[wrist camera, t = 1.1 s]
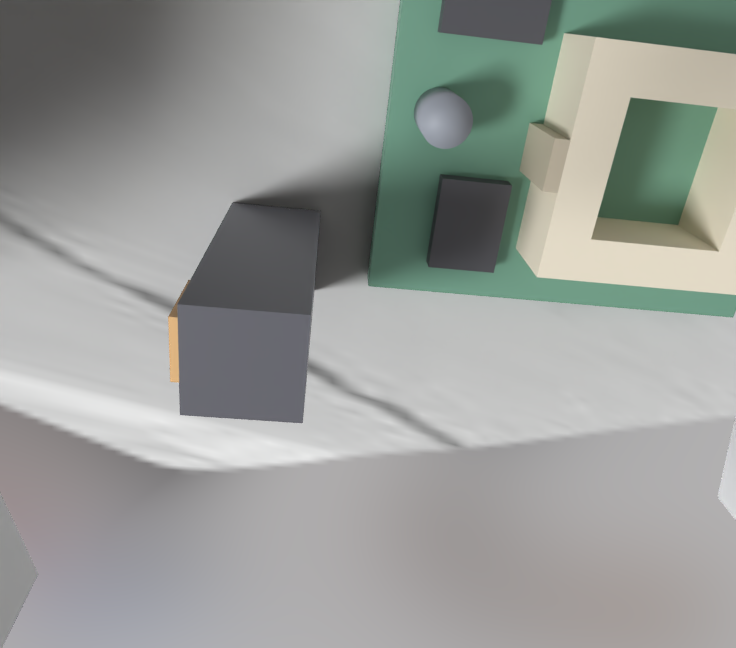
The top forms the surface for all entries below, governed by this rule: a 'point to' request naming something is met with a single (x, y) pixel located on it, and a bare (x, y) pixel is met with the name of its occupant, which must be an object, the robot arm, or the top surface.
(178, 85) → the top surface
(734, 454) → the robot arm
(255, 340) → the plug
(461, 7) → the board
